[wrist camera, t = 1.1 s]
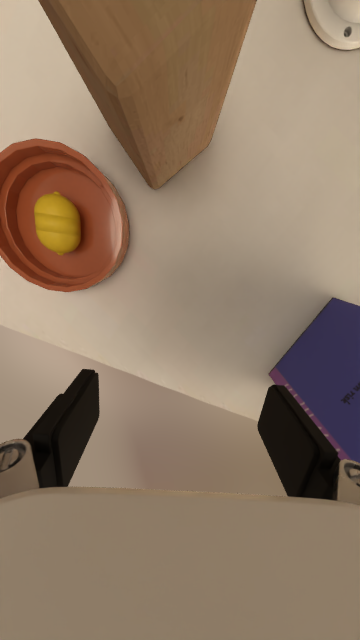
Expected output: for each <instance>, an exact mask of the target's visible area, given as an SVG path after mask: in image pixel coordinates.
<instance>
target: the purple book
mask: <svg viewBox="0 0 360 640" xmlns="http://www.w3.org/2000/svg"><path fill="white" fill-rule="evenodd" d="M269 376H270V377H271V378H272V380H273V381H274V382H275V384H276V385H284V386H285V387H286V388H287V389H288V390H289V392H290V393H291V394H292V395H293V397H294V398H295V399H296V400H297V402H298V403H299V404H300V405H301V407H302V408H303V409H304V410H305V412H306V413H307V414H308V415H309V417H310V418H311V419H312V420H313V422H314V423H315V424H316V425H317V427H318V428H319V429H320V430H321V432H322V433H323V434H324V435H325V437H326V438H327V439H328V440H329V442H330V443H331V444H332V445H333V447H334V448H335V449H336V450H337V452H338V453H339V454H338V457H339V458H340V459H341V460H343V459H350V460H353V461H356V462H358V463H360V306H358V305H354V304H351V303H348V302H345V301H342V300H339V299H336V298H332V299H331V300H330V301H329V303H328V304H327V305H326V306H325V307H324V308H323V310H322V311H321V312H320V313H319V314H318V316H317V317H316V318H315V319H314V320H313V322H312V323H311V324H310V325H309V326H308V327H307V329H306V330H305V331H304V332H303V333H302V335H301V336H300V337H299V338H298V339H297V341H296V342H295V343H294V344H293V345H292V346H291V348H290V349H289V350H288V351H287V352H286V354H285V355H284V356H283V357H282V358H281V360H280V361H279V362H278V363H277V364H276V366H275V367H274V368H273V369H272V370H271V371H270V373H269Z"/></svg>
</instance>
